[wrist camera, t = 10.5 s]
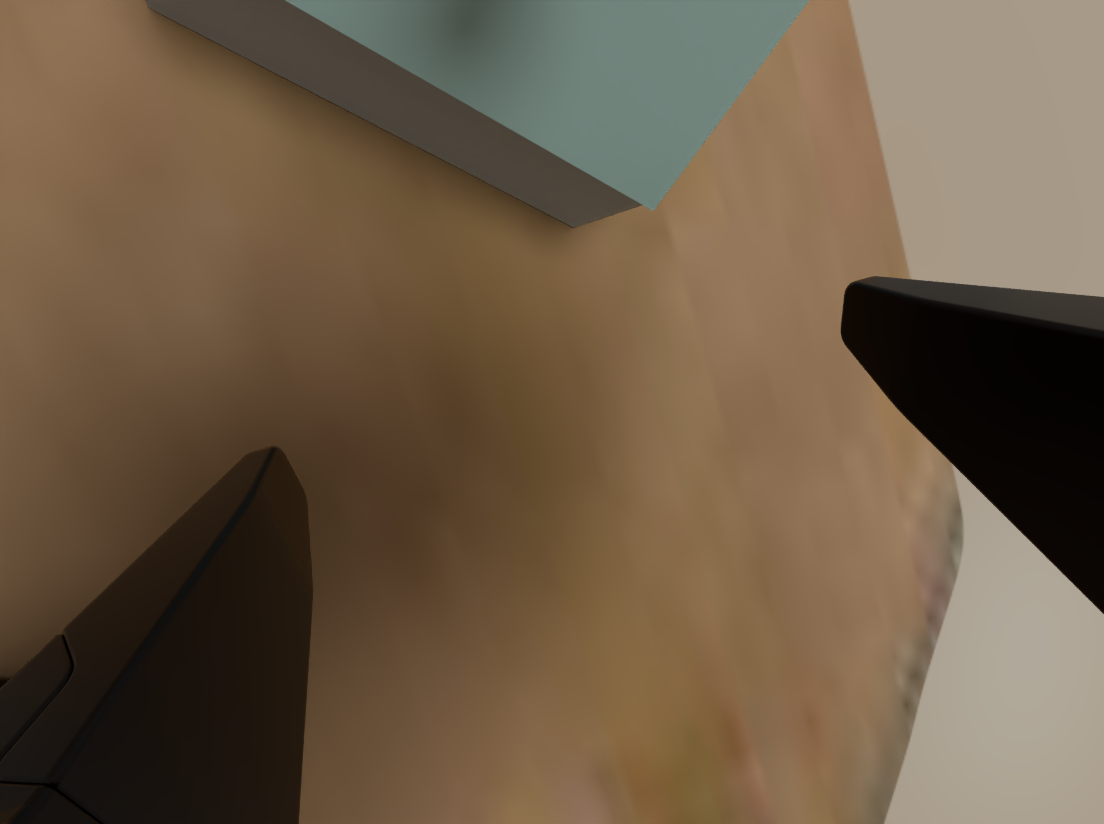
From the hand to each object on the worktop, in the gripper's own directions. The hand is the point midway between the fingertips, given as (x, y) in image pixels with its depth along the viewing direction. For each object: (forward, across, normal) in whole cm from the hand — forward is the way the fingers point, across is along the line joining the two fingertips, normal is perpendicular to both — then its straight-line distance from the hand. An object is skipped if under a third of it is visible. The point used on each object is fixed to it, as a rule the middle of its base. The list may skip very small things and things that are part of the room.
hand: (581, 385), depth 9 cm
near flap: (+9, -2, -6) cm, 11 cm away
